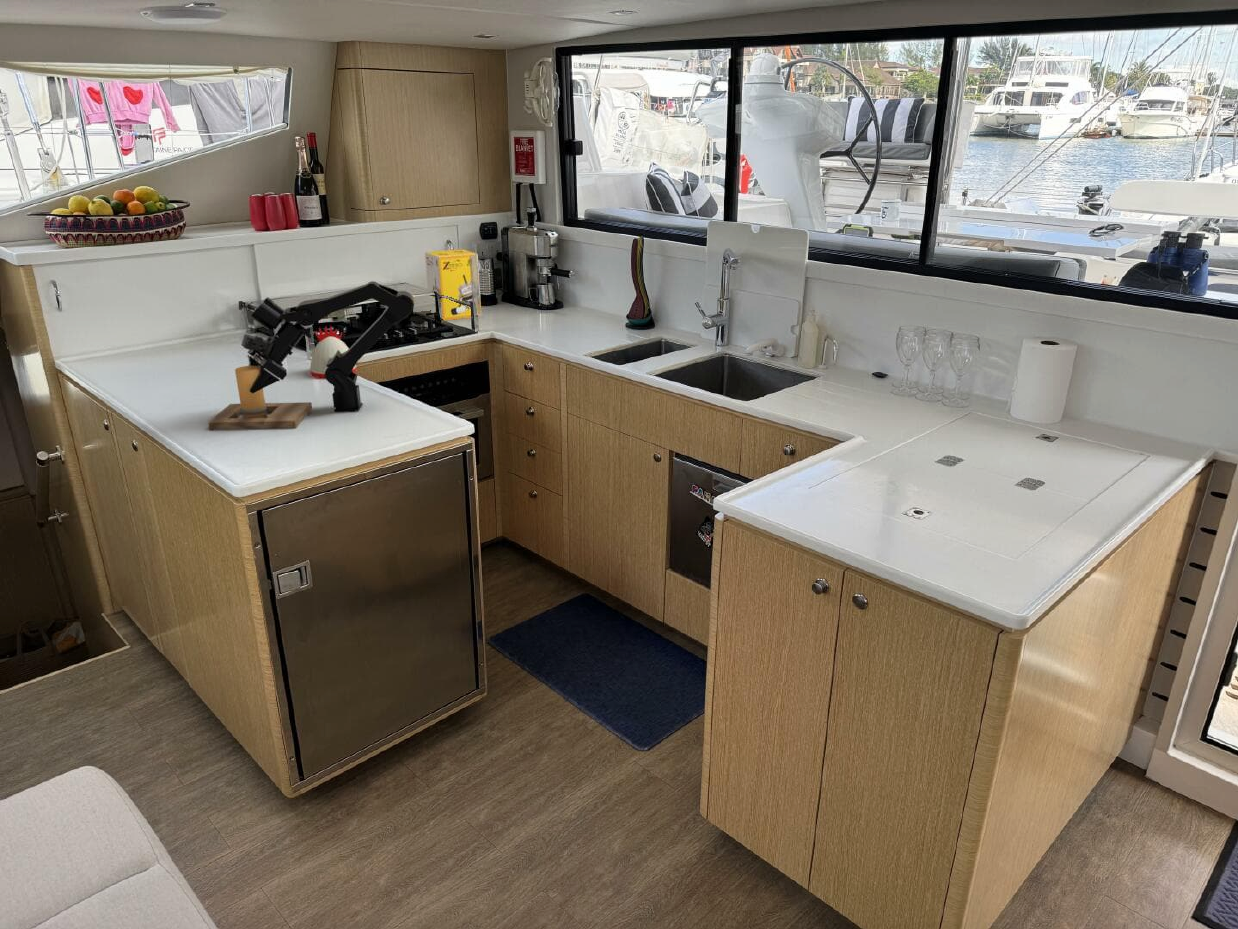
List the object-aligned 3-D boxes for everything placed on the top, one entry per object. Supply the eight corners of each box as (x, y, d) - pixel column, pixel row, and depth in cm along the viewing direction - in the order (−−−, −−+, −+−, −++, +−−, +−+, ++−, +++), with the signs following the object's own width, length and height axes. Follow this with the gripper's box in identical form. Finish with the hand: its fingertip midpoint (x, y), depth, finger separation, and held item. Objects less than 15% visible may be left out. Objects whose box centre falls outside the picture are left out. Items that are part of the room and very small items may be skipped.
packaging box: (481, 316, 356) (477, 253, 347) (443, 320, 348) (438, 257, 339) (467, 309, 369) (463, 249, 360) (429, 313, 361) (424, 251, 352)
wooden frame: (312, 409, 242) (311, 402, 241) (295, 428, 227) (294, 420, 227) (231, 410, 241) (230, 403, 240) (209, 429, 226) (208, 422, 225)
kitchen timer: (307, 370, 280) (301, 324, 274) (351, 365, 286) (346, 320, 280) (315, 381, 268) (308, 333, 263) (360, 375, 274) (355, 328, 269)
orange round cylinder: (271, 415, 237) (263, 365, 232) (263, 423, 231) (255, 371, 226) (247, 415, 237) (239, 365, 232) (239, 423, 231) (230, 372, 226)
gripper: (250, 316, 234) (213, 362, 233) (266, 329, 220) (227, 378, 218) (284, 341, 241) (249, 386, 240) (302, 355, 227) (265, 403, 225)
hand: (247, 388), depth 230 cm, fingers open, 9 cm apart
